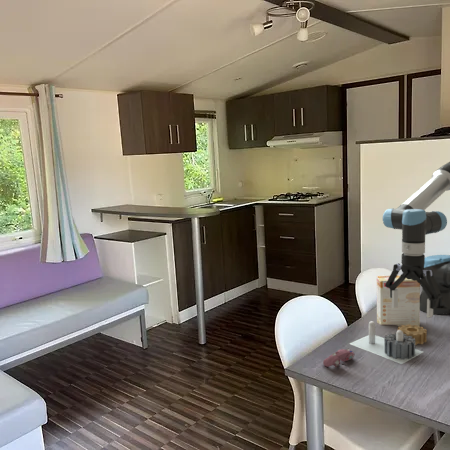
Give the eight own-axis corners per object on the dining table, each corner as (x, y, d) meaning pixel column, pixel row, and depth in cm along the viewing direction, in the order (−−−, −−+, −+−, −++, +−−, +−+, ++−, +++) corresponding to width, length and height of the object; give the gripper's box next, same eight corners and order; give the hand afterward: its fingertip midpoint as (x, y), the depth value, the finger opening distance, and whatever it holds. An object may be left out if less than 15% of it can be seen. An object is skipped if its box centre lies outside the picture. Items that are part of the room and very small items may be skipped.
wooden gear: (407, 335, 171) (407, 322, 171) (431, 342, 164) (432, 329, 163) (392, 342, 166) (392, 329, 165) (416, 351, 158) (417, 337, 157)
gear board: (371, 337, 171) (371, 313, 169) (424, 356, 154) (424, 329, 153) (348, 347, 164) (348, 322, 162) (401, 368, 147) (402, 340, 145)
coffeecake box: (414, 321, 184) (415, 274, 181) (420, 328, 177) (420, 279, 174) (376, 321, 186) (376, 275, 183) (380, 328, 179) (380, 280, 176)
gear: (395, 344, 161) (395, 330, 160) (420, 353, 153) (421, 339, 152) (378, 352, 155) (378, 338, 154) (404, 362, 148) (404, 347, 147)
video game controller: (329, 374, 149) (335, 360, 145) (321, 363, 152) (326, 349, 148) (352, 366, 153) (358, 352, 150) (343, 356, 157) (350, 342, 153)
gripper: (376, 250, 167) (375, 305, 170) (442, 261, 147) (440, 324, 150) (388, 246, 171) (387, 301, 175) (454, 257, 151) (451, 318, 155)
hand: (411, 311), depth 163 cm, fingers open, 13 cm apart
